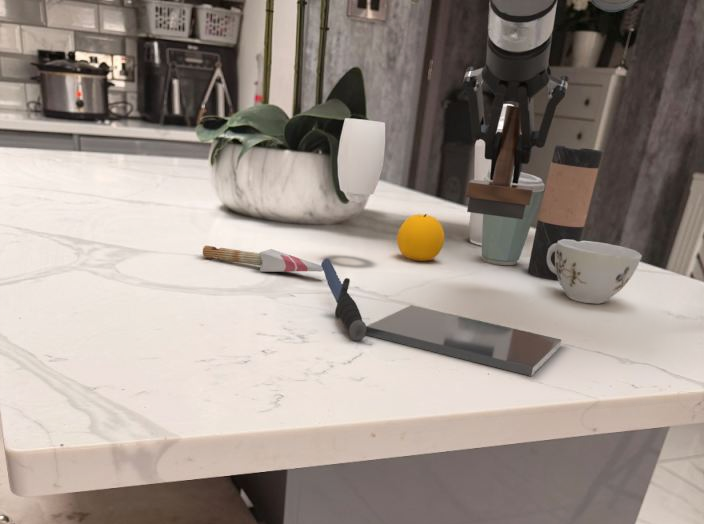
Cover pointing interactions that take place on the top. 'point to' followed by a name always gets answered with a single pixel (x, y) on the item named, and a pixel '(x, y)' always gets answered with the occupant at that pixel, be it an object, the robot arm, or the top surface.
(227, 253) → the paintbrush
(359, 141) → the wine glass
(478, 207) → the brush
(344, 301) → the knife
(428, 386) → the top surface
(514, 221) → the disposable coffee cup
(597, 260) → the teacup
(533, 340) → the slate board
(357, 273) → the top surface
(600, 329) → the top surface
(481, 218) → the spray can
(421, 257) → the orange
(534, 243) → the travel mug
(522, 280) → the top surface
